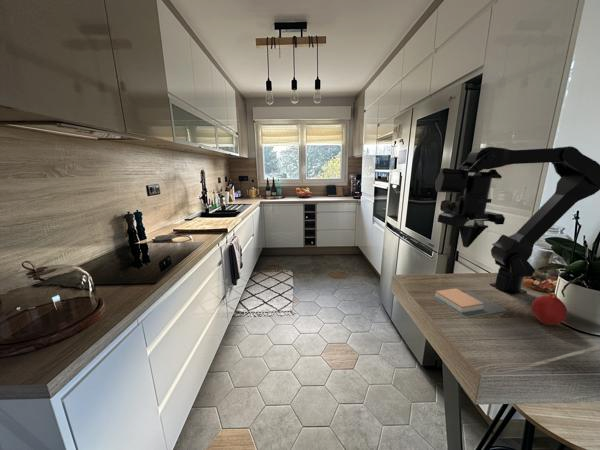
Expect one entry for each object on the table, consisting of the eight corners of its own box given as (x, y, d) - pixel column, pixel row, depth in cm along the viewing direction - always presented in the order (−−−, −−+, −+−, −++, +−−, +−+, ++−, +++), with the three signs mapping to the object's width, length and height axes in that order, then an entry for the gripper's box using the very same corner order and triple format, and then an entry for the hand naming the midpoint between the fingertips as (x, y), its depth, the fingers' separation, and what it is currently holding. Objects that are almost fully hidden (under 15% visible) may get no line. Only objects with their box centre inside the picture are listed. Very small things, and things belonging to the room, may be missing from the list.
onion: (529, 314, 62) (537, 284, 60) (562, 325, 58) (571, 293, 56) (526, 323, 58) (535, 292, 56) (562, 336, 54) (572, 302, 52)
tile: (456, 288, 70) (435, 291, 68) (483, 303, 63) (462, 306, 61) (455, 293, 70) (434, 296, 68) (482, 309, 63) (460, 312, 61)
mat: (470, 292, 72) (471, 291, 72) (507, 311, 63) (508, 310, 63) (431, 298, 68) (431, 296, 68) (464, 319, 59) (464, 318, 59)
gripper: (474, 191, 81) (465, 238, 84) (427, 190, 76) (419, 240, 79) (511, 195, 71) (499, 248, 74) (459, 195, 65) (449, 252, 69)
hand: (465, 247), depth 74 cm, fingers closed
